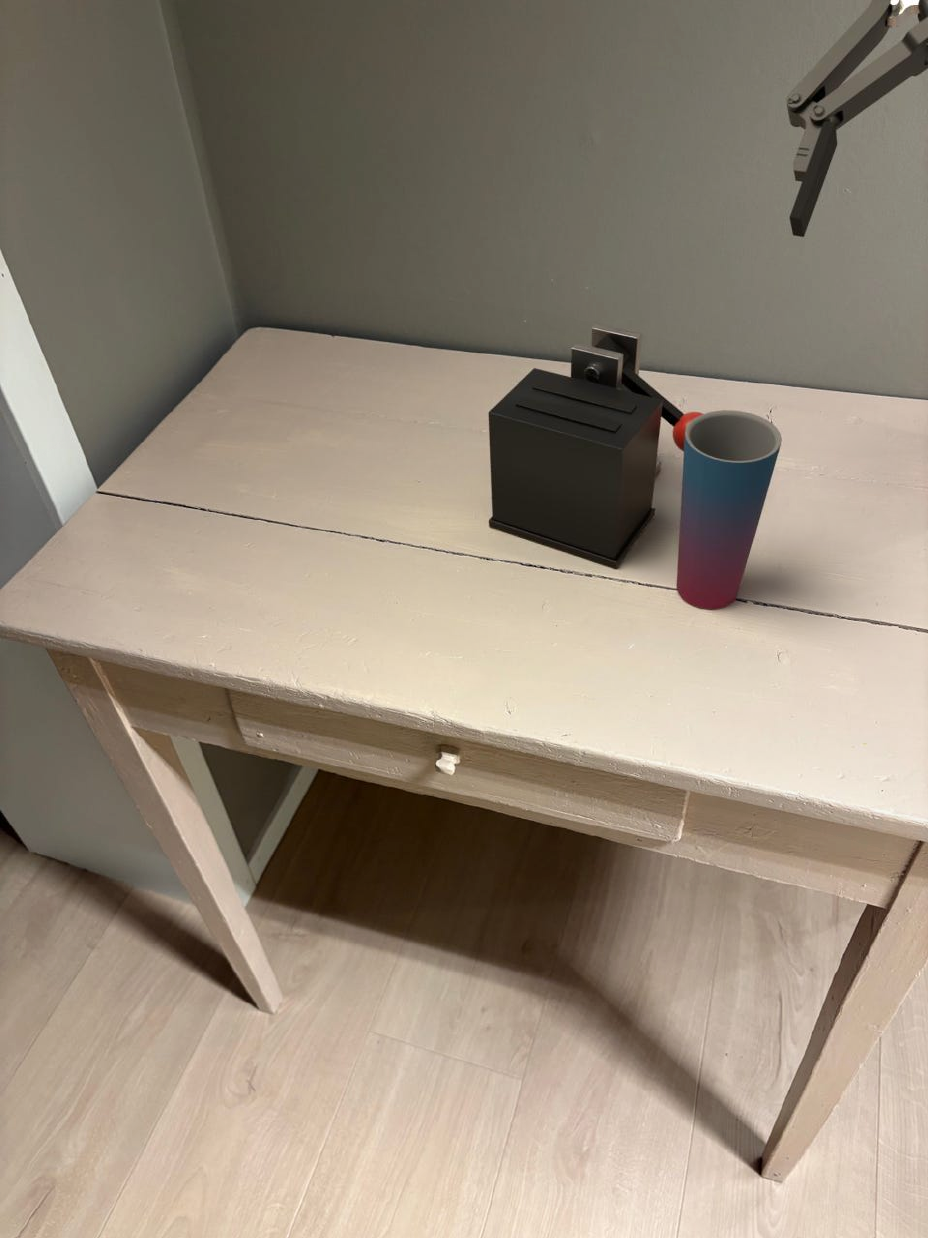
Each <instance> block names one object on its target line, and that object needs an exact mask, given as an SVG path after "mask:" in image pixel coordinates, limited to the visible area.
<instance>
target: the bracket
mask: <svg viewBox="0 0 928 1238" xmlns="http://www.w3.org/2000/svg"><path fill="white" fill-rule="evenodd" d="M605 335H607V336H608V337H610V338H611V339H612V340H613V341H614V342H615V343H617V344H618V345H619V346H620V347H621V348H623V349H624V350H625V351H626V352H627V353H629V354H630V356H629V358H628V359H627V360H626V361H625V363H624V364H625V365H626V366H628V367H629V368H630V369H631V370H632V371H633V372H635V373H636V374H637V375H638V376H639V377H640V374H639V373H640V367H641V366H640V365H641V354H642V353H641V352H642V341H643V333H642V332H638V331H633V330H629V329H624V328H621V327H615V326H612V325H611V326H610V325H606V324H601V323H595V324H594V325H593V326H592V327H591V341H590V342H591V343H590V345H587V344H582V343H578V342H576V343H574V345H573V346H572V347H571V350H570V351H571V355H570V377H572V378H576V379H580V380H584V381H588V382H592V383H596V384H600V385H604V386H608V387H612V388H616V389H620V390H624V391H628V392H631V391H630V390H629V389H628V388H627V387H625V386H624V385H623V384H622V383H621V379H622V364H623V354H621V353H617V352H612V351H608V350H604V349H600V348H595V347H594V346H595V345H596V344H597V343H598V342H599V341H600V340H601V339H602V338H603V337H604V336H605ZM632 393H633V392H632ZM661 467H662V459H660V458H657V462H656V472H655V477H657V475H658V473H659V472H660V471H661V469H662V468H661Z"/></svg>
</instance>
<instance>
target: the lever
mask: <svg viewBox="0 0 928 1238" xmlns="http://www.w3.org/2000/svg"><path fill="white" fill-rule="evenodd" d="M594 347H595V348H600V349H604V350H608V351H612V352H617V353H621V354H623V364H622V379H621V383H622V384H623V385H624V386H625V387H627V388H628V389H629V390H630V391H631V392H633V393H636V394H640V395H644V396H648V397H652V398H656V399H660V400H663V405H662V415H661V419H663V420H665V422H667V423H668V424H669V425H671V426H672V427H673V428H672V439H673V442H674V445H675V446H676V447H677V448H678V449H679V450H680V451H681V452H683V453H684V441H685V431H686V427H687V426H688V424H689V423H690V422H691V421H692V420H693V419H695V418H697V417H698V416H700V415H703V414H704V413H703V412H699V411H690V412H686V413H684V412H682V411H681V410H680V409H679V408H678V407H677V406H675V405H674V404H673V403H672V402H671V401H669V400H668V399H667V398H666V397H664V395H663V394H661V393H660V392H659V391H658V390H656V389H655V388H654V387H653V386H652V385H650V384H649V383H648V382H647V381H645V380H644V379H643V378H642V377H641V376H640V375H639V376H638V375H637V374H636V373H635V372H633V371H632V370H631V369H630V368H629V367H628V366H626V365H625V364H624V363H625V361H626V360H627V359H628V358H629V356H630V354H629V353H627V352H626V351H625V350H624V349H623V348H621V347H620V346H619V345H618V344H617V343H615V342H614V341H613V340H612V339H611V338H610V337H608V336H607V335H605V336H604V337H603V338H602V339H601V340H600V341H599V342H598V343H597V344H596V345H595V346H594Z"/></svg>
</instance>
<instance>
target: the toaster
mask: <svg viewBox="0 0 928 1238" xmlns="http://www.w3.org/2000/svg"><path fill="white" fill-rule="evenodd" d="M662 405H663V400H660V399H656V398H652V397H648V396H644V395H640V394H636V393H632V392H628V391H624V390H620V389H616V388H612V387H608V386H604V385H600V384H596V383H592V382H588V381H584V380H580V379H576V378H572V377H571V376H568V375H564V374H560V373H556V372H552V371H548V370H543V369H540V368H536V367H533V368H532V369H531V371H529V372H528V374H526V375H524V377H523V378H522V379H521V380H520V381H519V382H518V383H517V384H516V385H515V386H514V387H512V389H511V390H509V392H508V393H506V394H505V396H503V398H501V400H499V401H498V402H497V403H496V404H495V405H494V406H493V407H492V408H491V409H490V410H489V411H488V413H487V415H488V434H489V435H488V436H489V439H488V440H489V460H490V482H491V483H490V486H491V487H490V489H491V512H492V513H491V514H492V516H491V517H490V518H489V519H488V527H489V528H491V529H494V530H497V531H501V532H504V533H506V534H509V535H513V536H516V537H518V538H522V539H524V540H528V541H531V542H534V543H535V544H540V545H542V546H546V547H548V548H552V549H555V550H557V551H561V552H563V553H566V554H568V555H569V554H570V555H573V556H575V557H578V558H581V559H584V560H587V561H590V562H593V563H595V564H599V565H603V566H605V567H609V568H611V569H614V570H617V568H618V567H619V566H620V564H621V563H622V562H623V560H624V559H625V557H626V556H627V555H628V553H629V552H630V550H631V549H632V548H633V546H634V545H635V543H636V542H637V541H638V539H639V538H640V537H641V535H642V534H643V532H644V531H645V530H646V528H647V527H648V526H649V524H650V523H651V521H653V519H654V517H655V515H656V508H654V507H653V499H654V488H655V482H656V481H655V480H656V476H655V472H656V462H657V459H658V452H659V442H660V434H661V433H660V432H661V422H662V417H661V415H662Z"/></svg>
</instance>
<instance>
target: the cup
mask: <svg viewBox="0 0 928 1238" xmlns="http://www.w3.org/2000/svg"><path fill="white" fill-rule="evenodd" d="M782 441H783V439H782V434H781V433H780V431H779V429H778V428H777V427H776V426H775V424H773V422H770V421H769V420H768V419H767V418H764V417H762V416H760V415H757V414H754V413H752V412H748V411H747V412H746V411H742V410H733V409H732V410H731V409H729V410H727V409H724V410H715V411H714V410H713V411H710V412H706V413H703V415H700V416H698V417H697V418H695V419H693V420H692V421H691V422H690V423H689V424H688V426H687V427H686V431H685V441H684V452H683V462H682V479H681V498H680V515H679V531H678V532H679V533H678V553H677V568H676V569H677V570H676V591H677V594H678V595H679V597H680V598H681V599H682V600H683V601H684V602H686V603H687V604H688V605H691V606H692V607H696V608H699V609H705V610H719V609H723V608H726V607H727V606H730V605H732V604H733V603H734V602H735V601H736V599H737V597H738V596H739V593H740V588H741V585H742V581H743V579H744V574H745V572H746V568H747V564H748V562H749V558H750V554H751V550H752V547H753V544H754V540H755V537H756V533H757V531H758V530H757V529H758V526H759V522H760V519H761V515H762V513H763V509H764V505H765V502H766V499H767V495H768V492H769V488H770V484H771V481H772V478H773V474H774V471H775V467H776V464H777V461H778V457H779V453H780V449H781V447H782V446H781V445H782Z"/></svg>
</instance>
